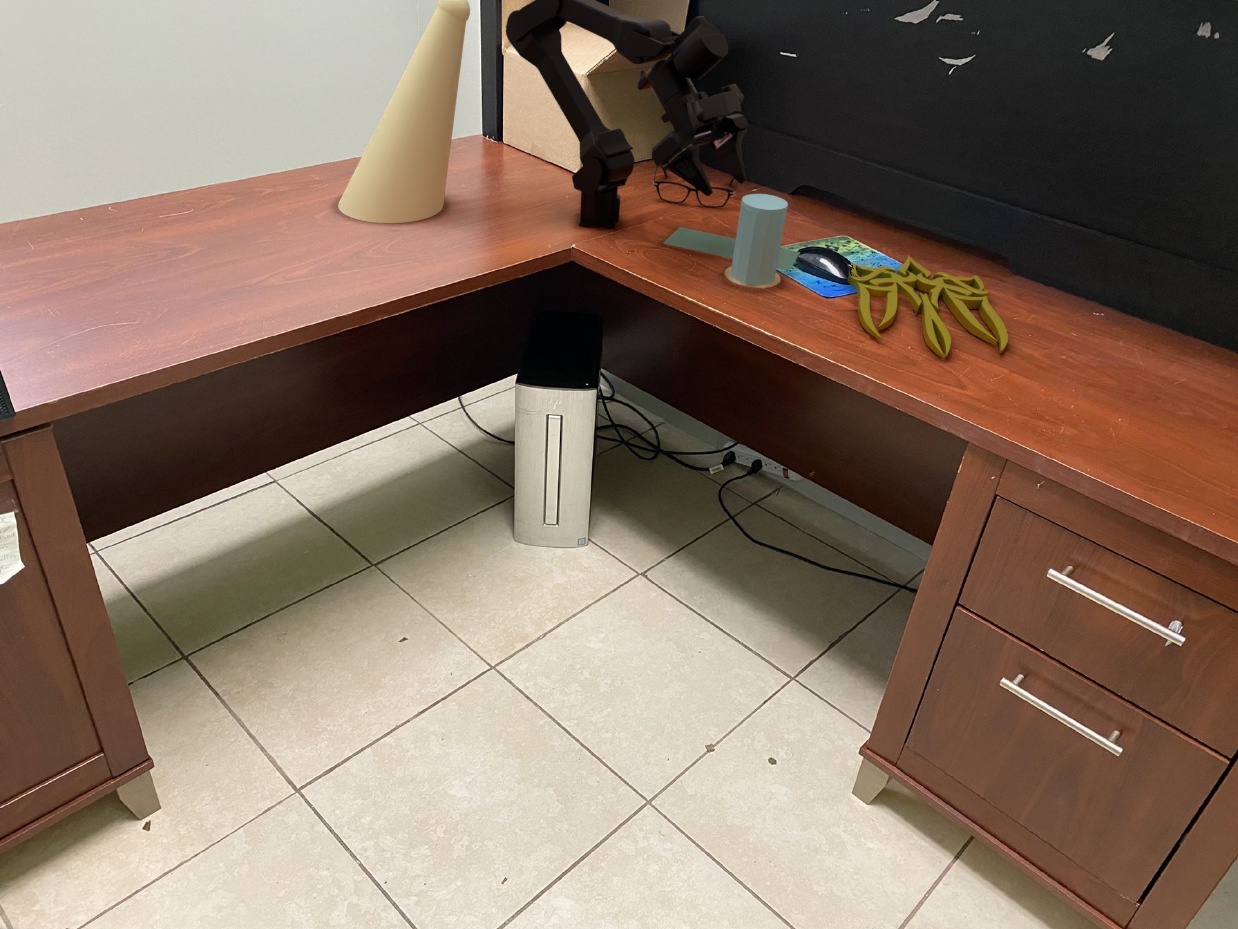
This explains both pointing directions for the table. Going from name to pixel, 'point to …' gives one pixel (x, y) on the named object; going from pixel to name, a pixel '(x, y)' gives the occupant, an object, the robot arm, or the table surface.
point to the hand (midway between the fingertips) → (727, 188)
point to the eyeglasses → (692, 189)
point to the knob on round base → (730, 278)
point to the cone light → (414, 130)
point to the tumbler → (758, 238)
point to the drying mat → (720, 245)
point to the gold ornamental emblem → (927, 302)
